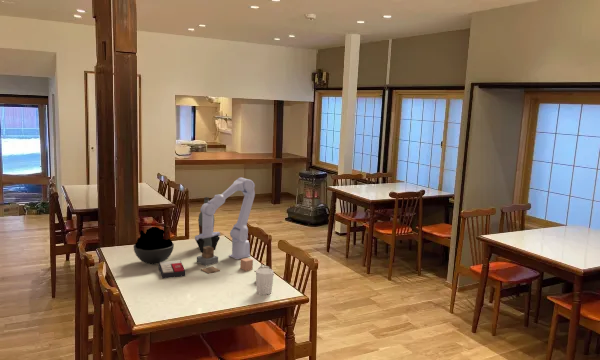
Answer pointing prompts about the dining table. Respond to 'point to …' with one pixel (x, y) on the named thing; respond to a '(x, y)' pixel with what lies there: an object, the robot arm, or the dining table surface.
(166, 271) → the black and red box
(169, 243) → the coal bowl
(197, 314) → the dining table surface
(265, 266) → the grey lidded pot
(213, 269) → the tile
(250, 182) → the robot arm
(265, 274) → the white cylinder
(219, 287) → the dining table surface
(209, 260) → the base block
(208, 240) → the bottle
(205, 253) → the walnut block
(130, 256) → the dining table surface
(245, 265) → the terracotta block
